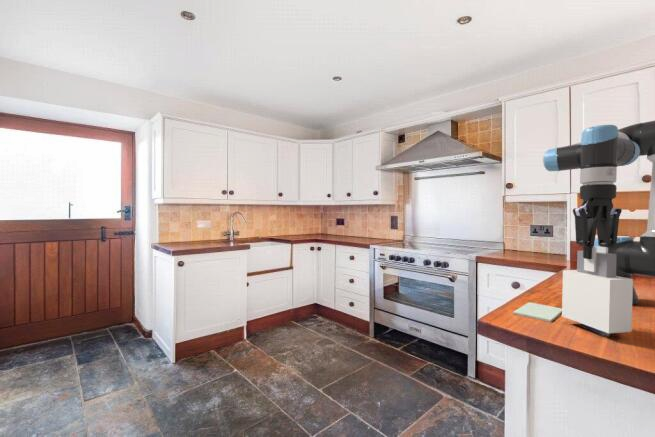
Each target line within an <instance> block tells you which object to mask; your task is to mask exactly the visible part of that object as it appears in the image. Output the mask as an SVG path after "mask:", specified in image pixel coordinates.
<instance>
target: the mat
mask: <svg viewBox="0 0 655 437" xmlns="http://www.w3.org/2000/svg"><path fill="white" fill-rule="evenodd" d="M512 314H514V315H517V316H523V317H527V318H531V319H535V320H536V319H537V320H540V321H545V322H549V323H552V322H553V320H555V319H556V318H557V317H559V316H560V315H562V307H556V306H551V305H547V304H546V305H545V304H541V303H540V304H539V303H535V302H529V301H528V302H527V303H525V304H524V305H522V306H520V307H519V308H517V309H515V310H514V311H513V312H512Z"/></svg>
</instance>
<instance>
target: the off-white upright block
mask: <svg viewBox="0 0 655 437" xmlns="http://www.w3.org/2000/svg"><path fill="white" fill-rule="evenodd" d="M576 254H577V259H576V260H577V261H576V269H565V270H562V294H561V295H562V296H561V297H562V299H561V300H562V302H561V308H562V313H561V317H562V318H566V319H568V320H571V321H574V322H576V323H580V324H581V323H582V324H584V325H587V326H590V327H592V328H595V329H598V330H601V331H603V332H606V333H610V334H617V333H618V334H620V333H632V330H633V329H632V327H633V325H632V324H633V305H632V298H633V285H634V279H633V278H632V279H630V278H625V277H619V276H616V256H617V254H610V253H602V252H597V253H596V272H591V271H586V270H584V258H583V250H577V253H576Z"/></svg>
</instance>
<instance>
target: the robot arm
mask: <svg viewBox="0 0 655 437" xmlns="http://www.w3.org/2000/svg"><path fill="white" fill-rule="evenodd" d="M643 156H644V157H645V156H646V159H647V160H648V161H649V162H651V164H652V167H651V179H650V180H651V181H650V192H649V203H648V214H647V225H646V226H647V227H646V231H645V232H644V233H643V234H640V236H639V241H637V240H634V238H633V237H632V236H618V233H619V222H620V216H621V214H622V209H621V208H616V207H614V203H613V200H614V199H616V198H617V185H616V184H614V183H616V182H617V175H618V174H617V172H618V170H617V169H618V167H625V166H629V165H631V164H633V163H634V162H635V161H637V159H638V158H639V157H643ZM542 161H543V162H542V163H543V167H544V168H545V170H546V171H548V172H560V171H569V170H570V171H571V170H579V169H580V170H579V171H580V172H579V174H580V175H579V176H580V177H579V184H581V186H579V198H580V199H581V200H582V203H581V206H580V207H578V208H573V209H572V214H573V216H574V225H575V226H574V228H575V243H576V244H577V245H579V246H580V247H582V251H583V258H584V270H586V271H591V272H596V253H597V252H602V253H610V254H617V256H616V276H619V277H625V278H630V279H633V275H635V276H636V275H638V276H644V277H649V278H651V277H652V278H655V120H652V121H650V120H649V121H646V122H640V123H634V124H632V125H628V126H625V127H622V128H618V126H617V125H614V124H601V125H596V126H590V127H587V128H585V129H584V130H582V132H581V138H580V142H577V143H574V144H569V145H565V146H560V147H555V148H549V149H547V150H546V151H545V152H544V154H543V156H542ZM596 235H597V237H596ZM638 303H639V296H638V295H637V291H636V288H635V285H634V284H633V298H632V306H633V305H637V304H638Z"/></svg>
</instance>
